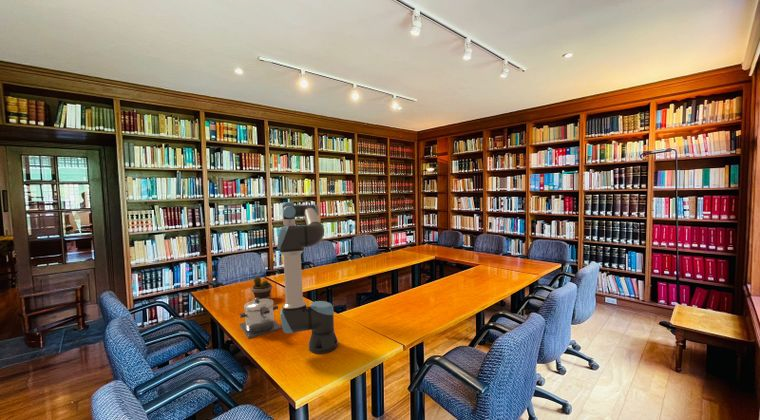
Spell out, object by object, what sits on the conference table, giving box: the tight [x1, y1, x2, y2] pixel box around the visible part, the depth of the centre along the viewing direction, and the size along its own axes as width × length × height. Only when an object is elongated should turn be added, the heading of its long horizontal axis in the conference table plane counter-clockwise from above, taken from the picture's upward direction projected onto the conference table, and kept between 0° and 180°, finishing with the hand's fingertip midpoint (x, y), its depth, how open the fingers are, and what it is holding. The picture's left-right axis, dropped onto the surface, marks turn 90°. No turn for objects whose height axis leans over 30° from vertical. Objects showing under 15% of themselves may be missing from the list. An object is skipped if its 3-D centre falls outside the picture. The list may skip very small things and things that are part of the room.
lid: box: [243, 298, 274, 314], centre depth 184 cm, size 24×17×4 cm
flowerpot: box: [251, 275, 273, 300], centre depth 236 cm, size 14×15×20 cm
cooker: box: [238, 304, 283, 340], centre depth 188 cm, size 22×22×14 cm
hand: (290, 260), depth 207 cm, fingers closed
